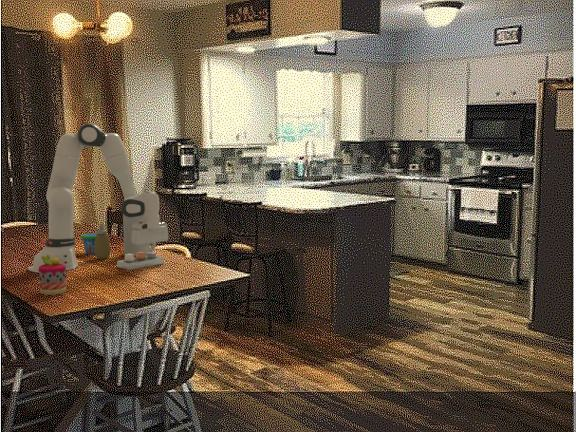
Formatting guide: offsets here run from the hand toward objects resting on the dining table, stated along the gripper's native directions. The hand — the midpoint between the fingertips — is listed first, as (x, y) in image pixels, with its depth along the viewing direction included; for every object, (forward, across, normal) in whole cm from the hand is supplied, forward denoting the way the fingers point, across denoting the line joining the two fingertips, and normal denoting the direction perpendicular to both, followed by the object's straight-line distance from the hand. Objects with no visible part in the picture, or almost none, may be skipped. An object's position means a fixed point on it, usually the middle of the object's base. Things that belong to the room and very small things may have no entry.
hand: (150, 251), depth 312 cm
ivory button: (+3, +13, 0) cm, 13 cm away
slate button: (+4, 0, 0) cm, 4 cm away
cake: (+7, +62, +17) cm, 65 cm away
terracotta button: (+3, +6, 0) cm, 7 cm away
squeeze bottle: (+6, +8, -29) cm, 31 cm away
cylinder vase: (+6, -10, -25) cm, 27 cm away
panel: (+6, +6, 0) cm, 8 cm away
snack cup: (+6, +4, -44) cm, 45 cm away
